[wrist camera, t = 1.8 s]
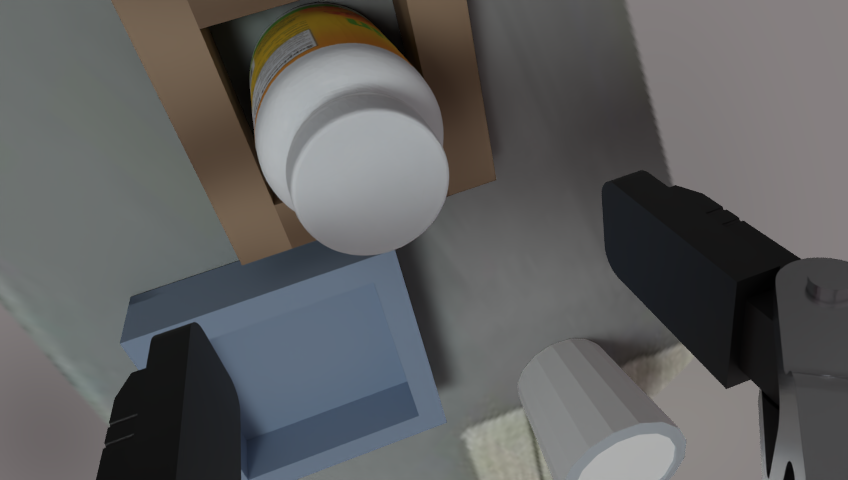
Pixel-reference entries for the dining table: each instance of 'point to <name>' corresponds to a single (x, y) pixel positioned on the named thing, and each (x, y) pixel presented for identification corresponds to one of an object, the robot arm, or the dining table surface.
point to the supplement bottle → (346, 130)
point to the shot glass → (596, 417)
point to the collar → (229, 130)
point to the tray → (304, 354)
